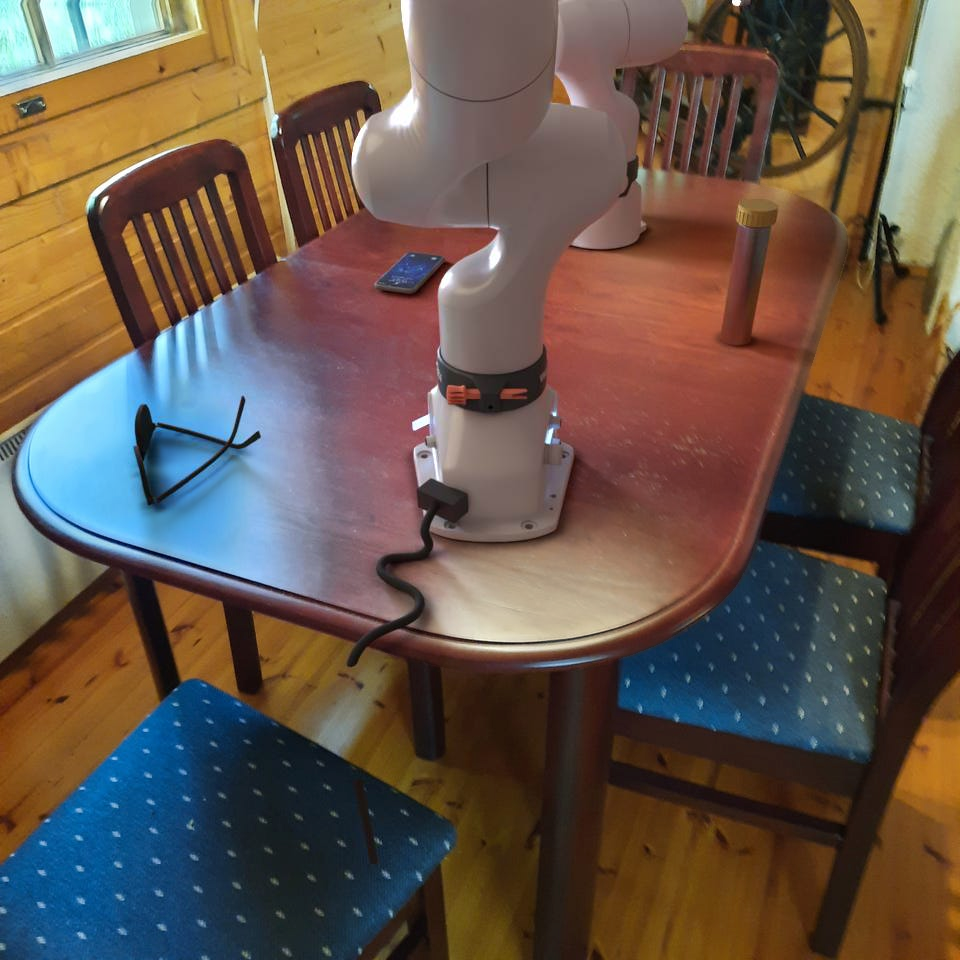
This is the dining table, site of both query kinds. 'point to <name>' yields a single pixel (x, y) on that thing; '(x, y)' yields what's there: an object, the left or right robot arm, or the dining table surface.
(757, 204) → the lid
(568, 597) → the dining table surface
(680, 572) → the dining table surface
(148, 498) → the sunglasses
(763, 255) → the grey metal cylinder
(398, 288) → the smartphone
